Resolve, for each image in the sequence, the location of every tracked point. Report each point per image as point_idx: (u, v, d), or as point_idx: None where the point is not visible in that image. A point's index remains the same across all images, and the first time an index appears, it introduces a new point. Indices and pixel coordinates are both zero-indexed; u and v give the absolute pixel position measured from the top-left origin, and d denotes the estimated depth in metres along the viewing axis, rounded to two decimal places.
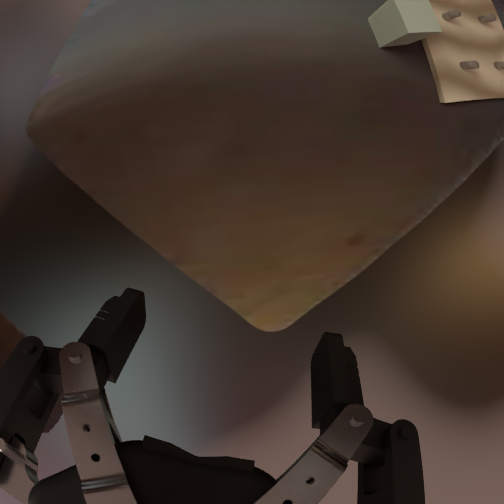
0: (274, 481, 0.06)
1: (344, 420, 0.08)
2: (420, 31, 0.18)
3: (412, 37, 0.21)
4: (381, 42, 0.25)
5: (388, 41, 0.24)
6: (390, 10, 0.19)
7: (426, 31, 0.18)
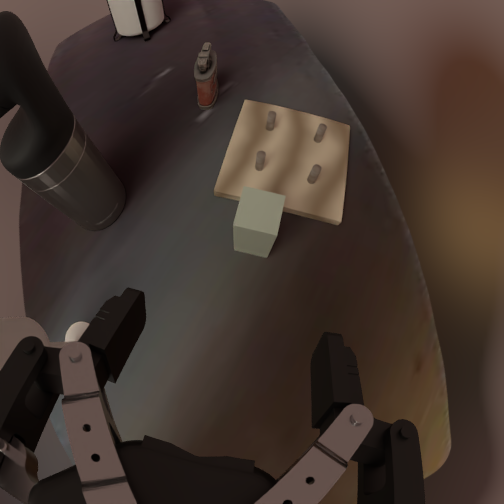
0: (274, 481, 0.06)
1: (344, 420, 0.08)
2: (279, 221, 0.29)
3: None
4: (264, 254, 0.37)
5: (268, 250, 0.35)
6: (244, 234, 0.31)
7: (280, 213, 0.29)
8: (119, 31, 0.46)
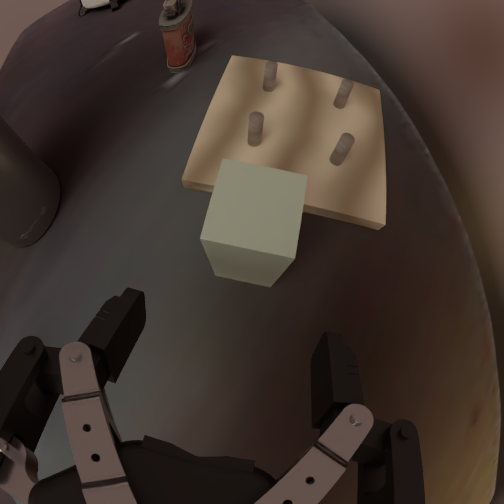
0: (274, 481, 0.06)
1: (344, 420, 0.08)
2: (297, 226, 0.14)
3: None
4: (266, 282, 0.21)
5: (274, 279, 0.19)
6: (226, 254, 0.15)
7: (300, 212, 0.14)
8: (84, 3, 0.31)
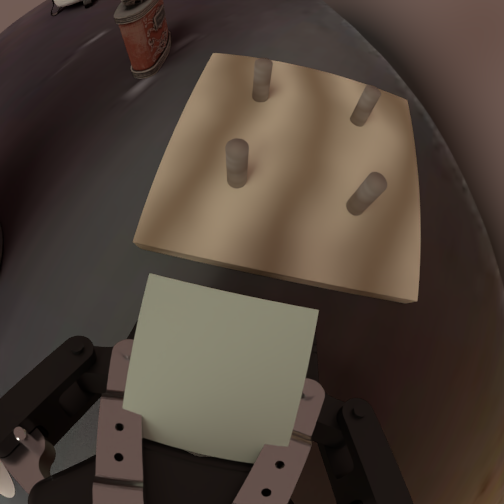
0: (245, 472, 0.06)
1: None
2: (291, 416, 0.06)
3: None
4: None
5: None
6: None
7: (298, 388, 0.07)
8: (55, 1, 0.24)
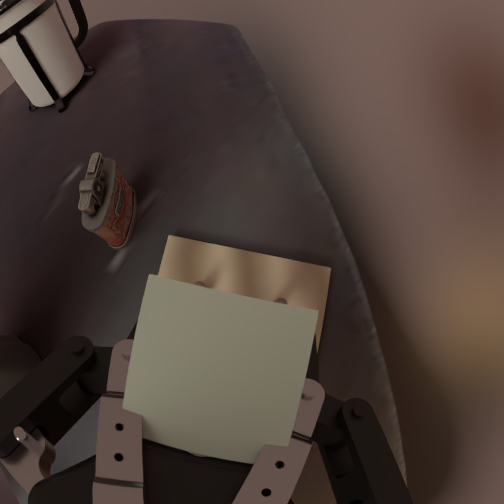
0: (245, 472, 0.06)
1: None
2: (291, 416, 0.06)
3: None
4: None
5: None
6: None
7: (298, 388, 0.07)
8: (31, 101, 0.34)
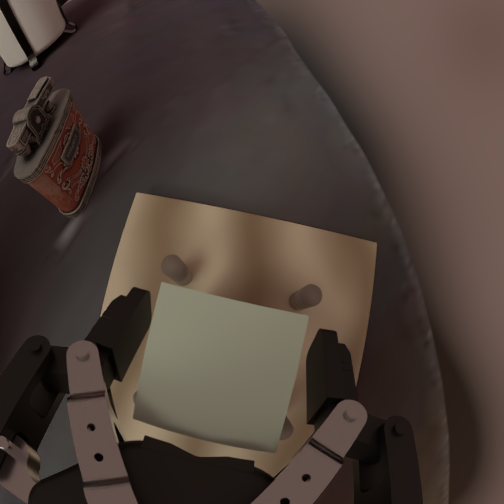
0: (270, 479, 0.06)
1: (337, 416, 0.08)
2: (283, 408, 0.08)
3: None
4: None
5: None
6: None
7: (290, 383, 0.08)
8: (4, 62, 0.23)
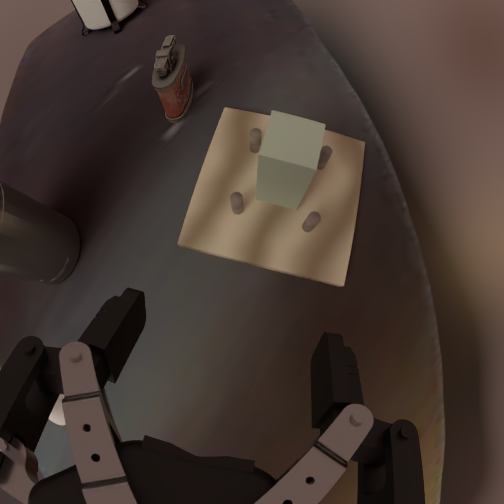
0: (274, 481, 0.06)
1: (344, 420, 0.08)
2: (318, 152, 0.21)
3: None
4: (294, 203, 0.29)
5: (300, 197, 0.27)
6: (272, 169, 0.23)
7: (320, 144, 0.21)
8: (86, 25, 0.35)
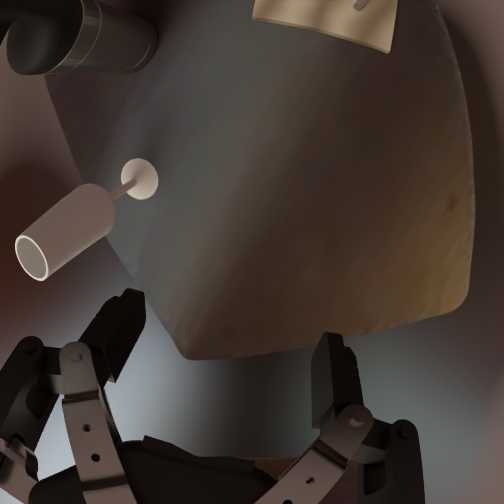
0: (274, 481, 0.06)
1: (344, 420, 0.08)
2: None
3: None
4: None
5: None
6: None
7: None
8: None
